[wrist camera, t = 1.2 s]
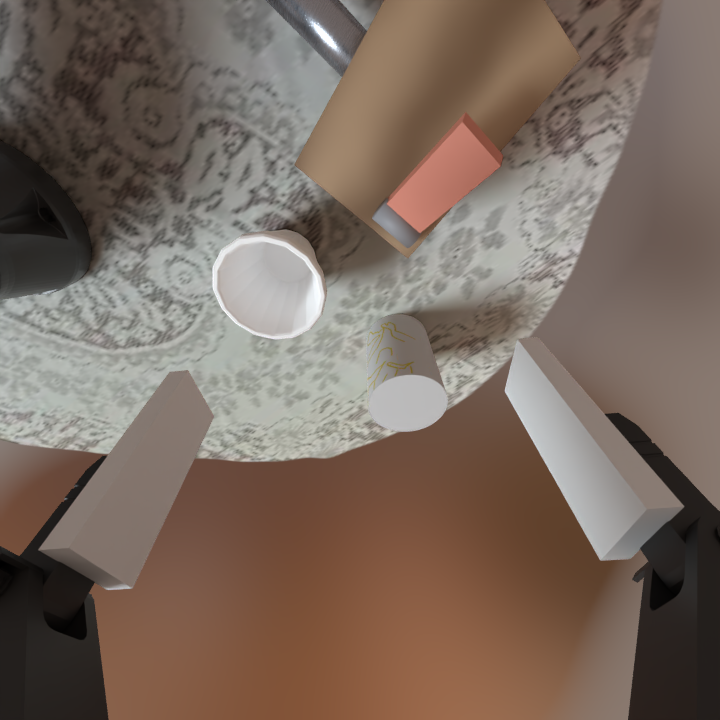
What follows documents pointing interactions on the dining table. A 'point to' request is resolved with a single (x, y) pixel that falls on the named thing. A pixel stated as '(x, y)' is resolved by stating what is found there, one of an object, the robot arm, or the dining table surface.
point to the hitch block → (431, 92)
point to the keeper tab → (439, 181)
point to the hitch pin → (324, 28)
